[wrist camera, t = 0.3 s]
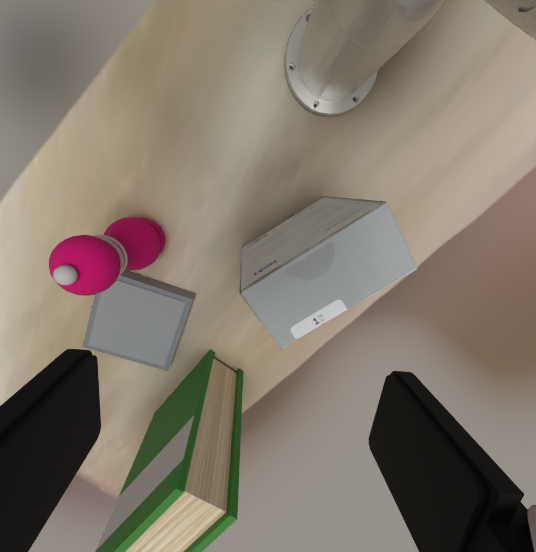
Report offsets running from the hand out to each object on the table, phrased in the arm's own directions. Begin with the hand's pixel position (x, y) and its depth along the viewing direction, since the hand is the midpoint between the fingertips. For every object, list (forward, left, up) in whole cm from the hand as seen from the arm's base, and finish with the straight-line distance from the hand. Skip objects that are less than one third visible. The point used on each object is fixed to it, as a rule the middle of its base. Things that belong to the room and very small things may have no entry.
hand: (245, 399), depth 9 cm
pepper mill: (+7, -15, -36) cm, 40 cm away
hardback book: (+31, +2, -36) cm, 48 cm away
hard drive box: (-1, +7, -36) cm, 37 cm away
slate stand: (+20, -12, -36) cm, 43 cm away
